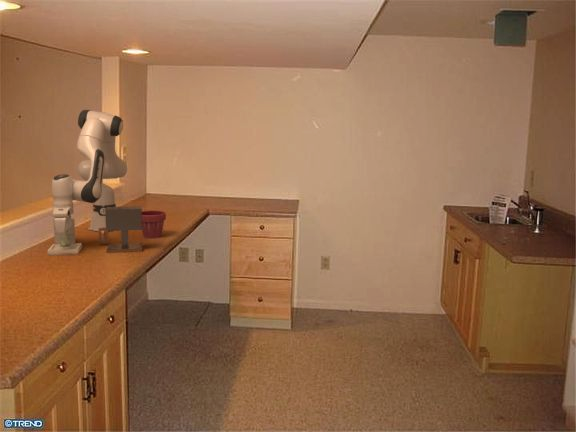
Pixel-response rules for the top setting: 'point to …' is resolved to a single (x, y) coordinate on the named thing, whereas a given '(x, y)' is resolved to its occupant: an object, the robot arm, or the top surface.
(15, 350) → the top surface
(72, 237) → the supplement box
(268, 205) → the top surface
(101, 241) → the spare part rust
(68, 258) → the top surface
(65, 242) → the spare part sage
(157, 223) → the plant pot
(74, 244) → the tray
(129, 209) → the mounted unit
